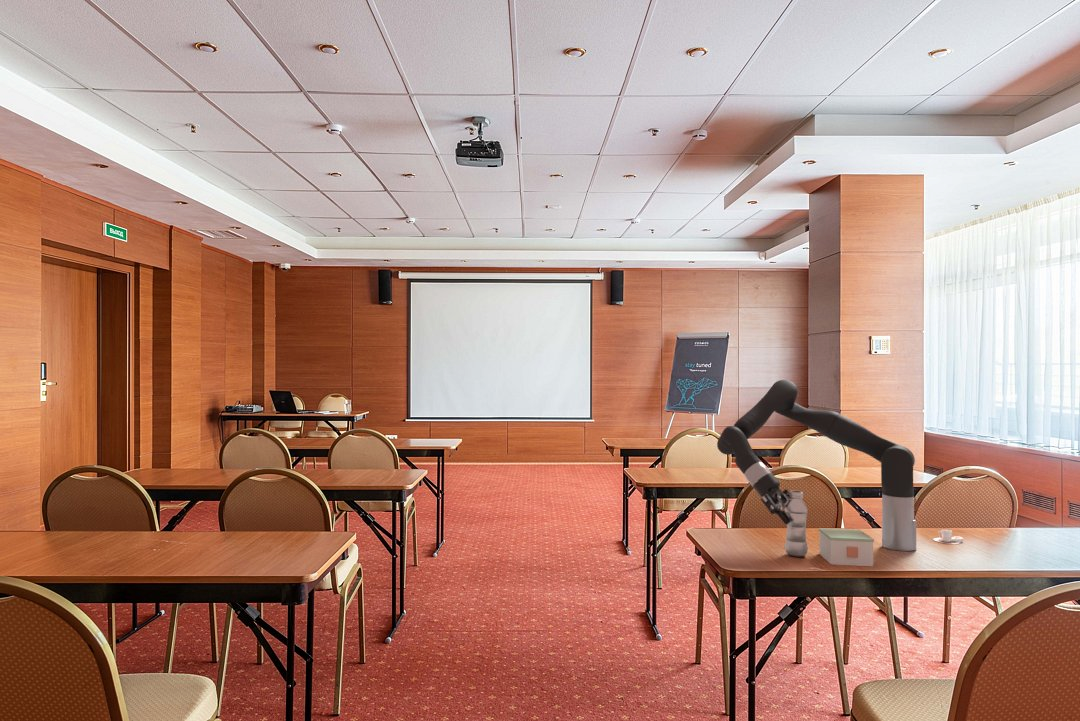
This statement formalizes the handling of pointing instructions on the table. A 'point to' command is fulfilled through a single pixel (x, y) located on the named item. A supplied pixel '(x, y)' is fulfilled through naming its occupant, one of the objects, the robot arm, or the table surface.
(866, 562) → the raised stand
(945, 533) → the teacup and saucer
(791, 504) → the plastic bottle
